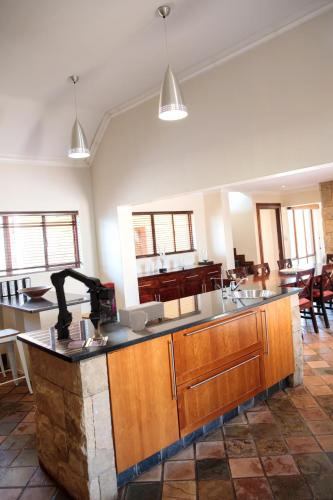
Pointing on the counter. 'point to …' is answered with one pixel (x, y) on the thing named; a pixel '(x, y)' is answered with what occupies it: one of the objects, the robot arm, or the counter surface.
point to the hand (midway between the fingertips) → (97, 327)
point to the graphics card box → (113, 310)
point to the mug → (138, 320)
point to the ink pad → (76, 344)
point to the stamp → (97, 333)
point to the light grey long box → (152, 308)
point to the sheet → (96, 342)
